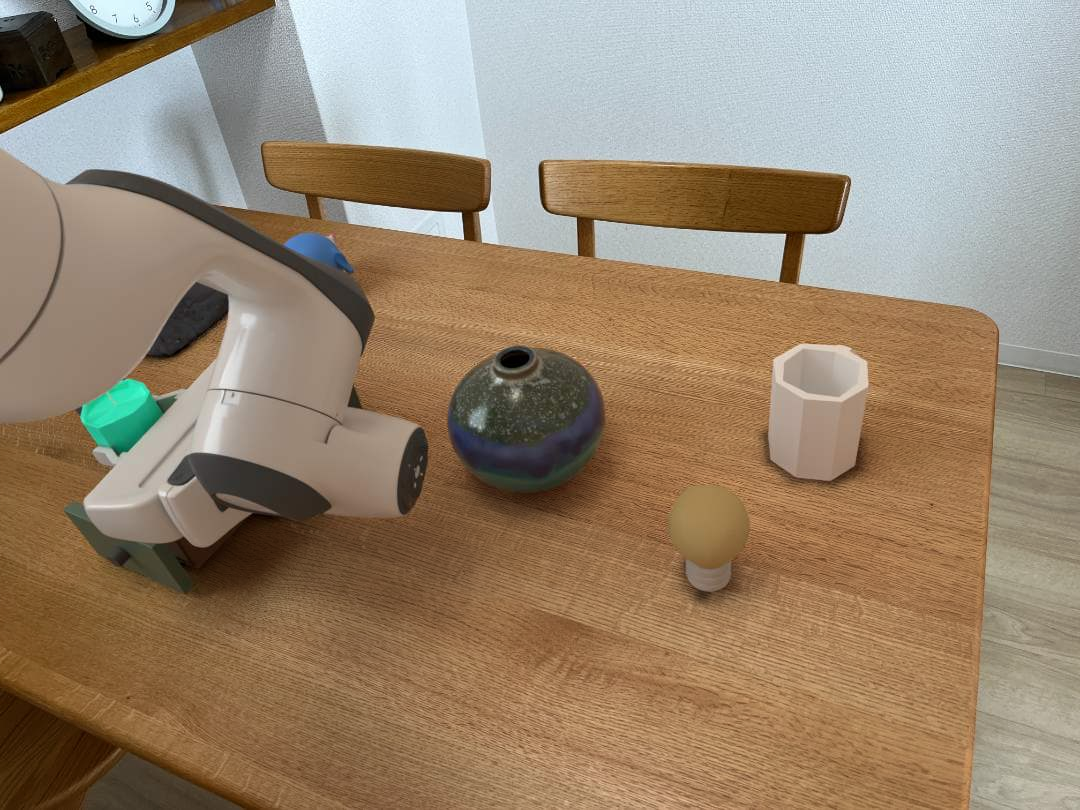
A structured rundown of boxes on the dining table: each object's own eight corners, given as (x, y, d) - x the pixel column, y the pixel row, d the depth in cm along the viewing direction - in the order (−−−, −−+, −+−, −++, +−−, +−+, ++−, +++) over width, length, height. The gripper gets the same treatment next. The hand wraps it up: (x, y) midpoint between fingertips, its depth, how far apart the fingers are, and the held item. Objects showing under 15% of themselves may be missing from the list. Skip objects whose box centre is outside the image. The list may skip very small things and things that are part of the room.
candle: (152, 462, 80) (91, 368, 72) (208, 460, 79) (152, 365, 71) (123, 508, 75) (54, 413, 67) (182, 507, 74) (119, 411, 66)
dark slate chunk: (86, 348, 110) (68, 320, 107) (194, 262, 125) (180, 235, 122) (169, 364, 104) (152, 335, 101) (272, 272, 119) (260, 244, 116)
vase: (434, 500, 80) (401, 400, 71) (496, 400, 90) (474, 301, 81) (580, 532, 74) (564, 428, 66) (629, 421, 85) (620, 318, 76)
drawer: (175, 604, 73) (141, 558, 69) (88, 564, 79) (51, 518, 74) (288, 485, 83) (264, 437, 79) (203, 456, 88) (177, 410, 84)
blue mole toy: (379, 261, 117) (363, 208, 112) (347, 308, 109) (328, 254, 103) (306, 260, 120) (286, 209, 115) (269, 307, 112) (246, 254, 106)
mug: (839, 493, 74) (852, 413, 67) (751, 461, 78) (754, 384, 72) (883, 414, 80) (899, 335, 74) (800, 388, 85) (807, 312, 78)
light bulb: (739, 616, 66) (743, 538, 59) (662, 599, 68) (657, 522, 61) (752, 555, 70) (757, 476, 63) (679, 541, 72) (677, 463, 66)
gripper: (300, 342, 73) (179, 331, 78) (158, 512, 59) (19, 486, 64) (322, 395, 77) (205, 381, 82) (194, 564, 63) (62, 537, 68)
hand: (123, 428), depth 73 cm, fingers closed on candle, 5 cm apart
